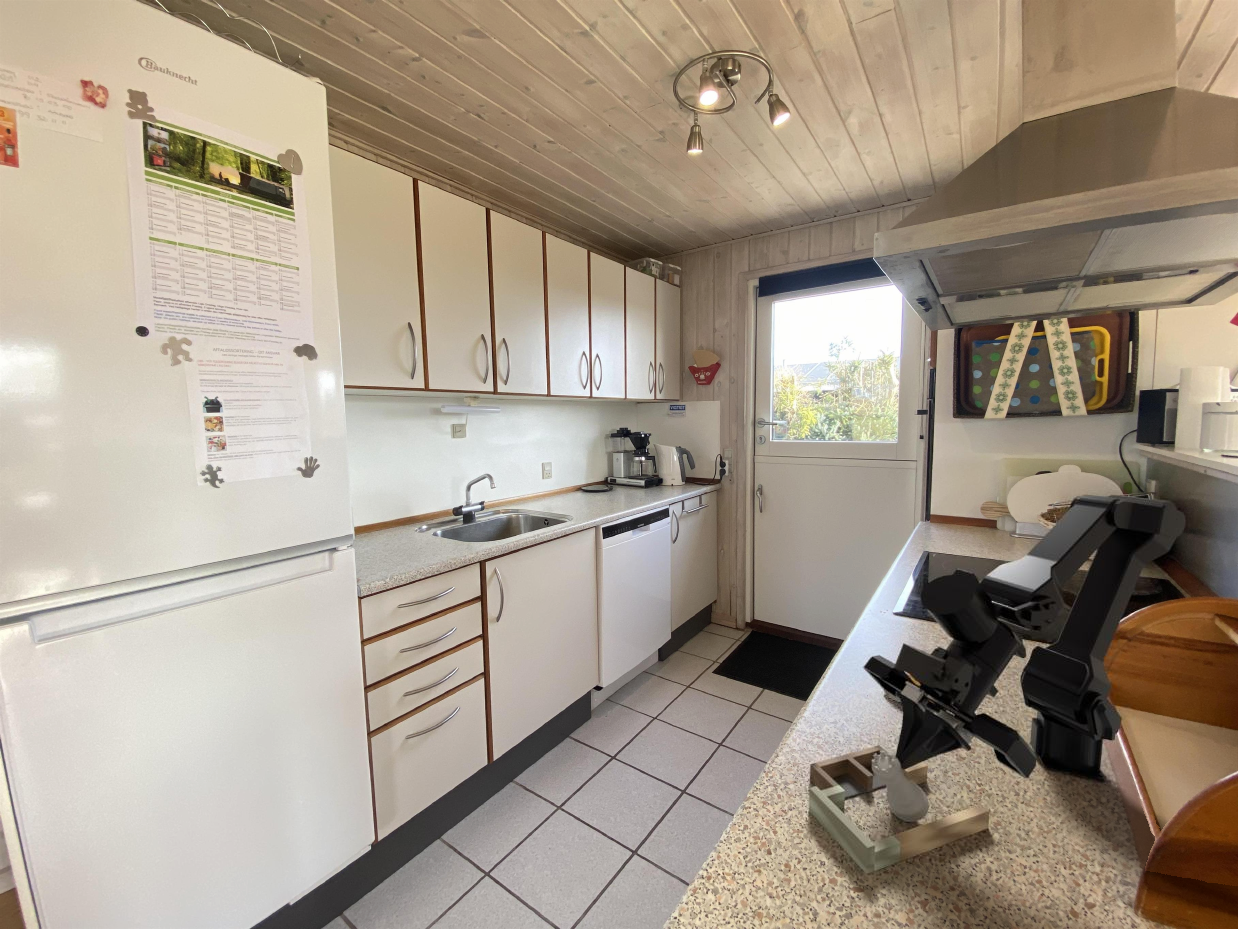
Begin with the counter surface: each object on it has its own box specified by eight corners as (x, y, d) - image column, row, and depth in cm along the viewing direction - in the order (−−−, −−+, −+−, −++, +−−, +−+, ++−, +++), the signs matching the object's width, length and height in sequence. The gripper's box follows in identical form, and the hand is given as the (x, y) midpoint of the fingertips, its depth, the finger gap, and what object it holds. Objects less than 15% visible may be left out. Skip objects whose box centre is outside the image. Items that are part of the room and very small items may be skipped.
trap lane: (893, 755, 71) (894, 735, 71) (988, 828, 59) (990, 804, 58) (786, 786, 65) (786, 765, 65) (866, 874, 53) (867, 847, 53)
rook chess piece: (893, 784, 64) (866, 741, 62) (932, 790, 60) (905, 746, 59) (888, 819, 61) (860, 776, 59) (929, 829, 57) (900, 783, 56)
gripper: (877, 596, 68) (807, 688, 66) (1026, 658, 51) (938, 787, 48) (918, 643, 71) (852, 732, 69) (1071, 717, 54) (991, 840, 51)
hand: (898, 765), depth 59 cm, fingers closed
